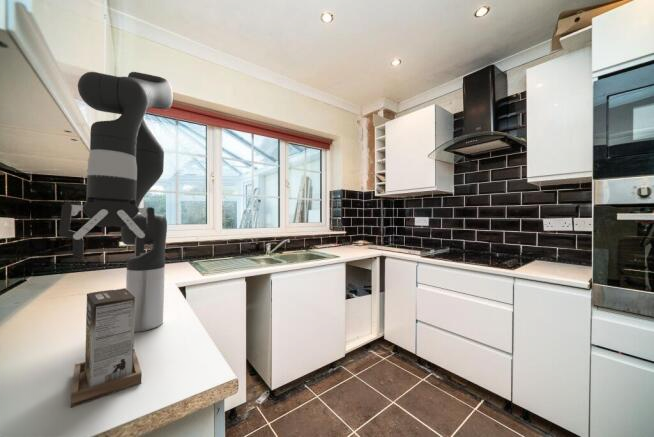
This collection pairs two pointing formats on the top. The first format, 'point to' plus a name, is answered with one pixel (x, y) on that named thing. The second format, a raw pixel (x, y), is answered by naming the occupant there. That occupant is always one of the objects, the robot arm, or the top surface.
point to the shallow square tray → (86, 394)
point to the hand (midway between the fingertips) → (110, 257)
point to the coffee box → (109, 335)
